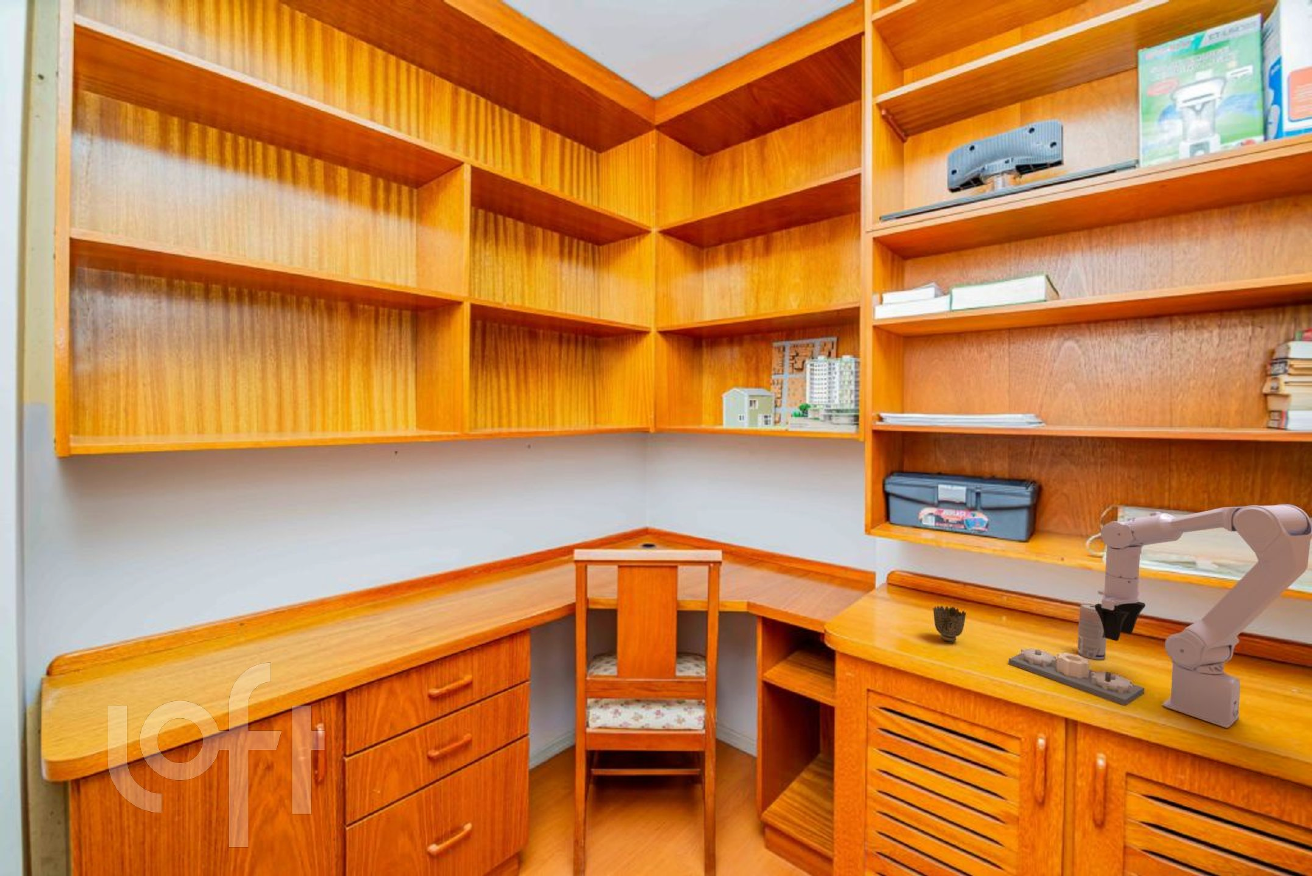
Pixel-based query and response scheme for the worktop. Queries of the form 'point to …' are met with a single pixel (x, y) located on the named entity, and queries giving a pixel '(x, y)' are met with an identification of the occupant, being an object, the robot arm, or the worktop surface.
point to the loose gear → (1073, 665)
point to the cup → (949, 622)
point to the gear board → (1096, 684)
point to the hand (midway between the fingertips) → (1118, 635)
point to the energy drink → (1091, 633)
